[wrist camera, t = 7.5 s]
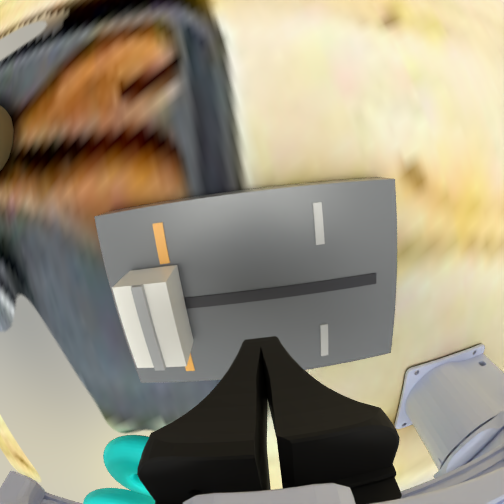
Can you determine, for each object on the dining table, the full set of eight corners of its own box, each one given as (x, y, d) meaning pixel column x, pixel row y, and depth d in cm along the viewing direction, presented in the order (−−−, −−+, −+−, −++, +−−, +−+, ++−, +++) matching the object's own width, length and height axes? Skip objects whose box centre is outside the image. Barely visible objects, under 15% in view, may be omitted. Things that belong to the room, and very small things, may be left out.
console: (378, 177, 19) (395, 178, 17) (378, 336, 22) (391, 353, 20) (110, 211, 19) (93, 216, 17) (149, 363, 22) (140, 383, 20)
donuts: (201, 556, 17) (107, 541, 17) (207, 484, 27) (126, 477, 27) (172, 520, 15) (59, 497, 15) (187, 431, 24) (94, 424, 24)
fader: (177, 264, 17) (164, 284, 14) (193, 340, 19) (185, 369, 16) (129, 270, 17) (109, 289, 14) (149, 343, 19) (135, 370, 16)
